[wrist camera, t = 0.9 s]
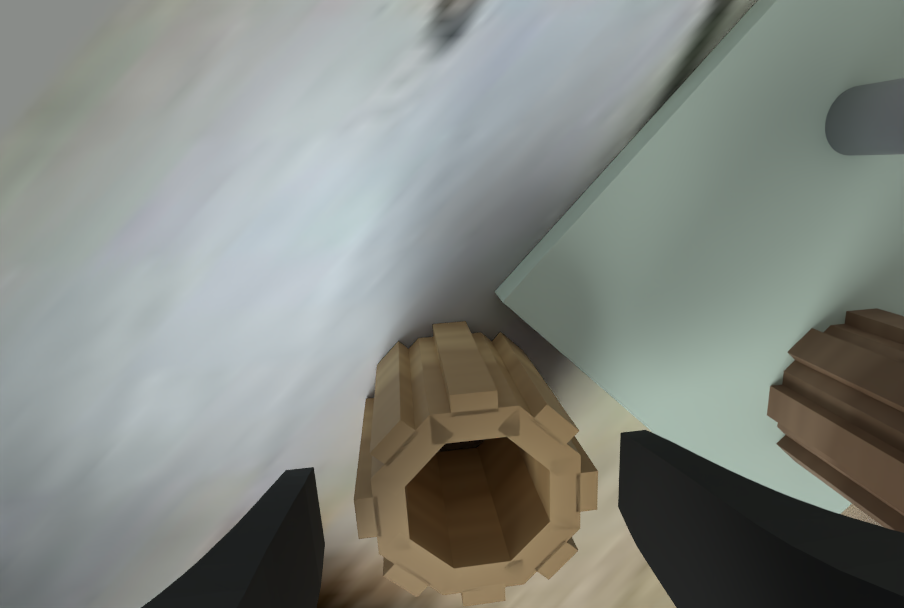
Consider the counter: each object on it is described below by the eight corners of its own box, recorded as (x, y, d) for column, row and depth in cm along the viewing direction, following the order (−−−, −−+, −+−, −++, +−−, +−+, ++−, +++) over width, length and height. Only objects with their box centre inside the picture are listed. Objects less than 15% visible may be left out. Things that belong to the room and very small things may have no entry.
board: (1104, 220, 17) (1324, 237, 13) (770, 531, 19) (872, 631, 15) (877, -132, 14) (1081, -259, 10) (494, 291, 15) (530, 336, 11)
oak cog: (572, 392, 17) (645, 484, 12) (460, 509, 17) (486, 641, 12) (446, 286, 15) (471, 341, 10) (331, 417, 16) (303, 525, 11)
